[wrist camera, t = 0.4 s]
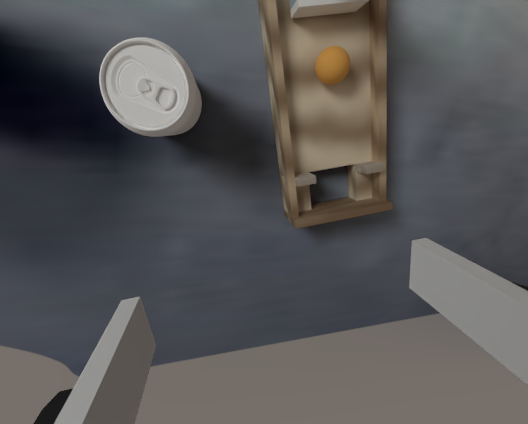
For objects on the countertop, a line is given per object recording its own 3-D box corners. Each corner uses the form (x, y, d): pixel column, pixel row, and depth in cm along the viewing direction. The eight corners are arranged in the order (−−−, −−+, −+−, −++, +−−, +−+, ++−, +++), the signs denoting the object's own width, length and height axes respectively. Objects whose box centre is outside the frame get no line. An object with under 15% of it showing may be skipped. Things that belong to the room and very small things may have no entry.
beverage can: (149, 52, 32) (112, 9, 20) (212, 88, 34) (210, 66, 23) (125, 116, 33) (78, 108, 22) (187, 145, 35) (173, 152, 24)
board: (252, -43, 31) (260, -82, 25) (364, -51, 32) (396, -89, 27) (284, 215, 41) (295, 228, 35) (369, 198, 42) (392, 209, 37)
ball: (309, 53, 32) (321, 43, 29) (340, 49, 33) (355, 39, 29) (312, 88, 34) (324, 83, 30) (341, 84, 34) (357, 79, 30)
